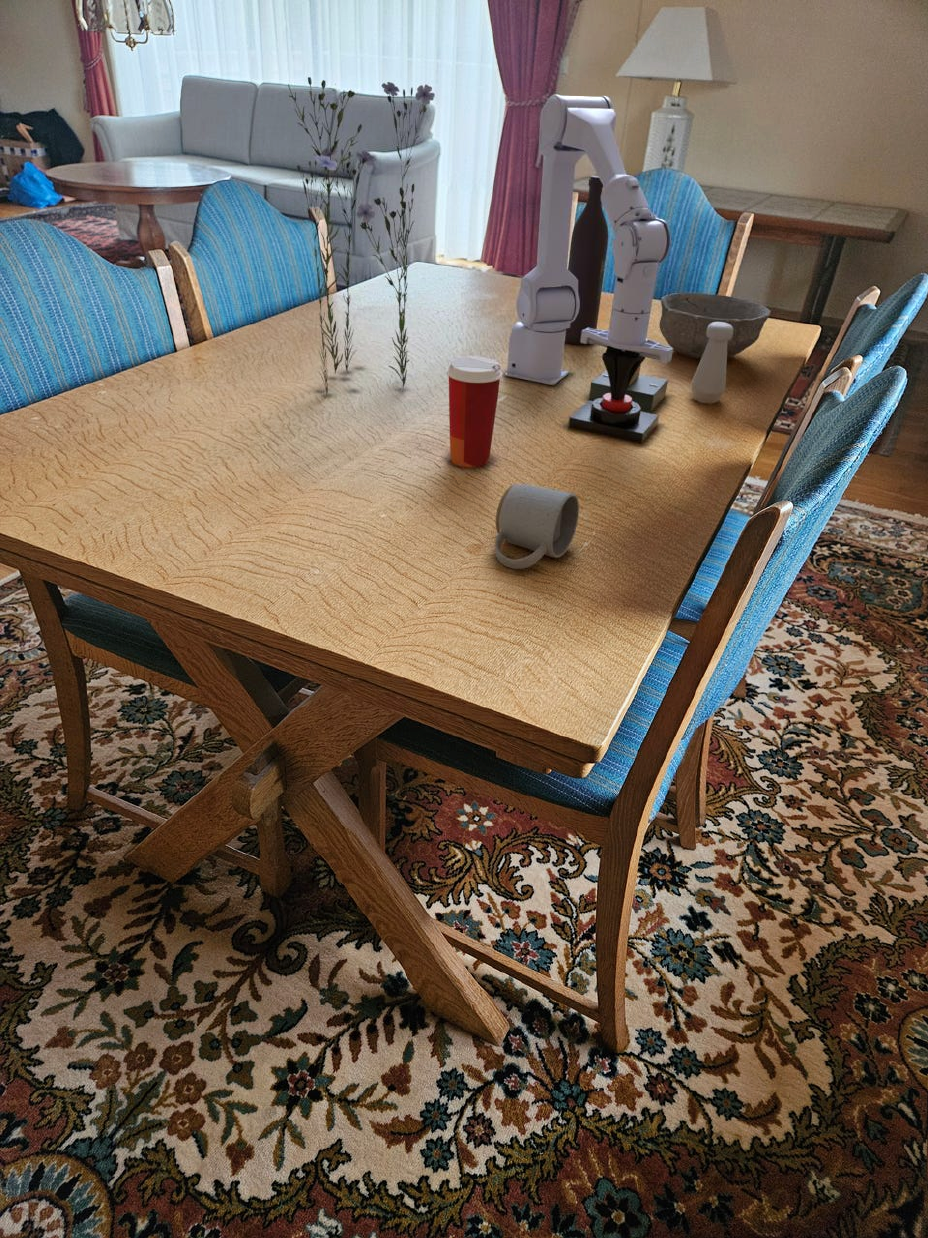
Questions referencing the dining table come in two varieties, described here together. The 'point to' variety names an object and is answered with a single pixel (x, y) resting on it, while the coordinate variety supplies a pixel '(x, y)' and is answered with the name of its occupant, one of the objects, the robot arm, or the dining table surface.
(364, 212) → the wildflower
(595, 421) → the switch box
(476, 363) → the paper cup
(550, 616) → the dining table surface
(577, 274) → the wine bottle
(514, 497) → the ceramic mug
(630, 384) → the dimmer knob
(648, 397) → the panel
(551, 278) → the robot arm
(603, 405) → the light button
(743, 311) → the bowl
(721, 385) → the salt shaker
